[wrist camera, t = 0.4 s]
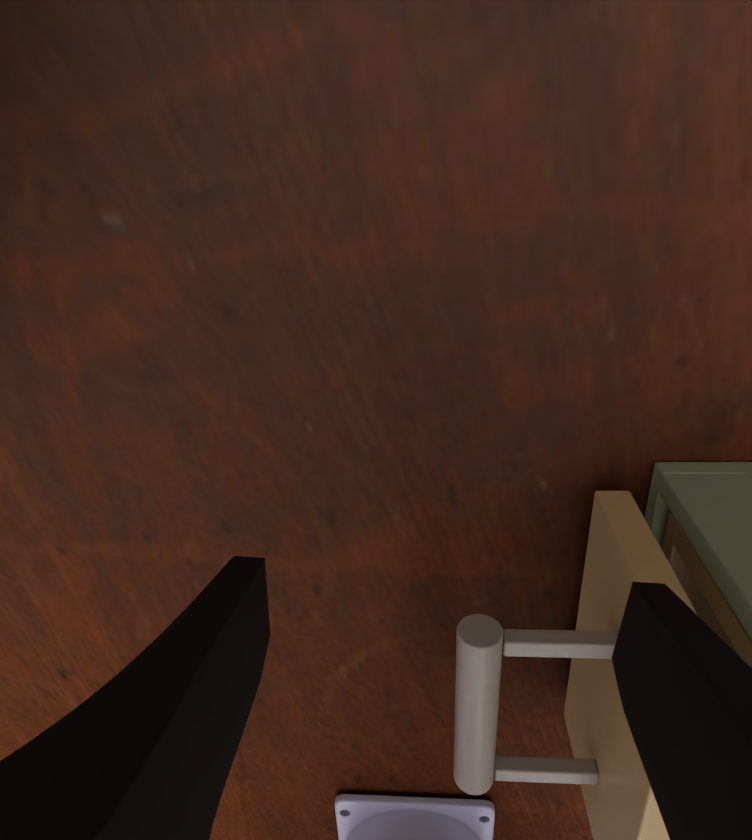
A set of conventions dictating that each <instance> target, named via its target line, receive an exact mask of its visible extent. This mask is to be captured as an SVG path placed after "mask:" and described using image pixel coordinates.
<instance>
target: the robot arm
mask: <svg viewBox="0 0 752 840" xmlns="http://www.w3.org/2000/svg"><path fill="white" fill-rule="evenodd" d="M269 637H270V624H269V611H268V597H267V583H266V570H265V558H256V557H240V556H234V557H233V558H232V559H231V560H229V562H228V563H227V564H226V565H225V566H224V567H223V568H222V569H221V571H220V572H219V573H218V574H217V575H216V576H215V577H214V578H213V580H212V581H211V582H210V583H209V584H208V585H207V586H206V587H205V589H204V590H203V591H202V592H201V593H200V594H199V595H198V596H197V597H196V598H195V599H194V600H193V602H192V603H191V604H190V605H189V606H188V607H187V608H186V609H185V610H184V611H183V612H182V613H181V614H180V615H179V616H178V617H177V618H176V619H175V620H174V621H173V622H172V623H171V624H170V625H169V626H168V627H167V628H166V629H165V630H164V631H163V632H162V633H161V634H160V635H159V636H158V637H157V638H156V639H155V640H154V641H153V642H152V643H151V644H150V645H149V646H148V647H147V648H145V649H144V650H143V651H142V652H141V653H140V654H139V655H138V656H137V657H136V658H135V659H134V660H133V661H132V662H130V663H129V664H128V665H127V666H126V667H125V668H124V669H123V670H122V671H120V672H119V673H118V674H117V675H116V676H115V677H113V678H112V679H111V680H110V681H109V682H108V683H106V684H105V685H104V686H103V687H102V688H100V689H99V690H98V691H97V692H95V693H94V694H93V695H92V696H90V697H89V698H88V699H87V700H85V701H84V702H83V703H82V704H80V705H79V706H78V707H77V708H75V709H74V710H73V711H71V712H70V713H69V714H67V715H66V716H64V717H63V718H62V719H60V720H59V721H58V722H56V723H55V724H54V725H52V726H51V727H49V728H48V729H47V730H45V731H44V732H42V733H41V734H40V735H38V736H37V737H35V738H34V739H33V740H31V741H30V742H28V743H27V744H25V745H24V746H23V747H21V748H20V749H18V750H17V751H15V752H14V753H12V754H11V755H9V756H7V757H6V758H4V759H3V760H1V761H0V840H209V838H210V833H211V829H212V825H213V821H214V818H215V815H216V812H217V808H218V805H219V802H220V798H221V795H222V792H223V789H224V786H225V783H226V780H227V777H228V775H229V772H230V769H231V766H232V763H233V760H234V757H235V754H236V751H237V748H238V745H239V742H240V740H241V737H242V734H243V731H244V728H245V725H246V722H247V719H248V716H249V713H250V710H251V707H252V704H253V701H254V698H255V695H256V692H257V689H258V686H259V683H260V679H261V674H262V670H263V666H264V661H265V656H266V652H267V647H268V642H269ZM612 662H613V667H614V672H615V676H616V681H617V686H618V690H619V694H620V698H621V702H622V707H623V711H624V713H625V716H626V719H627V722H628V725H629V728H630V731H631V733H632V736H633V739H634V742H635V745H636V747H637V750H638V753H639V756H640V759H641V761H642V764H643V767H644V770H645V772H646V775H647V778H648V780H649V783H650V786H651V789H652V791H653V794H654V797H655V800H656V802H657V805H658V808H659V811H660V813H661V816H662V819H663V822H664V824H665V827H666V830H667V833H668V836H669V839H670V840H752V668H751V667H750V666H749V665H748V664H747V663H746V662H745V661H744V660H743V659H742V658H741V657H740V656H739V655H738V654H737V653H735V652H734V651H733V650H732V649H731V648H730V647H729V646H728V645H727V644H726V643H725V642H724V641H723V640H722V639H721V638H720V637H719V636H718V635H717V634H716V633H715V632H714V631H713V630H712V629H711V628H710V627H709V626H708V625H707V624H706V623H705V622H704V621H703V620H702V619H701V618H700V617H699V616H698V615H697V614H696V613H695V612H694V611H693V610H692V609H691V608H690V607H689V606H688V605H687V604H686V603H685V602H684V601H682V600H681V599H680V598H679V597H678V596H677V595H676V594H675V593H674V592H673V591H672V590H671V589H670V588H669V587H668V586H667V585H666V584H662V583H647V582H632V586H631V589H630V593H629V596H628V600H627V604H626V607H625V611H624V615H623V618H622V622H621V626H620V629H619V633H618V636H617V640H616V644H615V647H614V651H613V655H612ZM335 813H336V822H337V830H338V839H339V840H493V832H494V819H495V808H494V804H493V803H492V802H491V801H488V800H480V799H456V798H432V797H409V796H385V795H361V794H340V795H338V796H337V797H336V799H335Z"/></svg>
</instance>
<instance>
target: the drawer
mask: <svg viewBox="0 0 752 840" xmlns="http://www.w3.org/2000/svg"><path fill="white" fill-rule="evenodd" d="M632 582H647V583H662V584H666V585H667V586H668V587H669V588H670V589H671V590H672V591H673V592H674V593H675V594H676V595H677V596H678V597H679V598H680V599H681V600H682V601H684V602H685V603H686V604H687V605H688V606H689V607H690V608H691V609H692V610H693V611H694V612H695V613H696V614H697V615H698V616H699V617H700V618H701V619H702V620H703V621H704V622H705V623H706V624H707V625H708V626H709V627H710V628H711V629H712V630H713V631H714V632H715V633H716V634H717V635H718V636H719V637H720V638H721V639H722V640H723V641H724V642H725V643H726V644H727V645H728V646H729V647H730V648H731V649H732V650H733V651H734V652H735V653H737V654H738V655H739V656H740V657H741V658H742V659H743V660H744V661H745V662H746V663H747V664H748V665H749V666H750V667H751V668H752V640H751V639H750V637H749V635H748V634H747V632H746V631H745V629H744V627H743V626H742V624H741V623H740V621H739V619H738V618H737V616H736V615H735V613H734V611H733V610H732V608H731V607H730V605H729V603H728V602H727V600H726V599H725V597H724V595H723V594H722V592H721V591H720V589H719V587H718V586H717V584H716V583H715V581H714V579H713V578H712V576H711V575H710V573H709V572H708V570H707V568H706V567H705V565H704V564H703V562H702V560H701V559H700V557H699V556H698V554H697V552H696V551H695V549H694V548H693V546H692V544H691V543H690V541H689V540H688V538H687V536H686V535H685V533H684V532H683V530H682V528H681V527H680V525H679V524H678V522H677V520H676V519H675V517H674V516H673V514H672V512H671V513H669V517H668V522H667V527H666V532H665V536H664V541H663V546H662V549H661V547H660V545H659V544H658V542H657V540H656V538H655V536H654V535H653V533H652V531H651V529H650V527H649V525H648V524H647V522H646V520H645V518H644V516H643V515H642V513H641V511H640V509H639V507H638V505H637V504H636V502H635V500H634V498H633V496H632V495H631V493H630V491H595V495H594V502H593V509H592V516H591V523H590V530H589V537H588V544H587V552H586V559H585V566H584V573H583V580H582V587H581V594H580V601H579V608H578V616H577V623H576V630H529V629H502V627H501V625H500V624H499V622H498V621H497V620H495V619H494V618H492V617H490V616H488V615H484V614H472V615H468V616H466V617H464V618H463V619H462V620H461V621H460V622H459V624H458V626H457V641H456V684H455V728H454V772H453V775H454V780H455V782H456V784H457V786H458V787H459V788H460V789H461V790H462V791H464V792H465V793H467V794H470V795H481V794H484V793H485V792H487V791H488V790H489V789H490V788H491V786H492V784H493V778H494V779H495V780H496V781H512V782H537V783H563V784H580V785H581V790H582V794H583V798H584V802H585V807H586V811H587V815H588V819H589V823H590V828H591V832H592V836H593V840H670V839H669V836H668V833H667V830H666V827H665V824H664V822H663V819H662V816H661V813H660V811H659V808H658V805H657V802H656V800H655V797H654V794H653V791H652V789H651V786H650V783H649V780H648V778H647V775H646V772H645V770H644V767H643V764H642V761H641V759H640V756H639V753H638V750H637V747H636V745H635V742H634V739H633V736H632V733H631V731H630V728H629V725H628V722H627V719H626V716H625V713H624V711H623V707H622V702H621V698H620V694H619V690H618V686H617V681H616V676H615V672H614V667H613V662H612V655H613V651H614V647H615V644H616V640H617V636H618V633H619V629H620V626H621V622H622V618H623V615H624V611H625V607H626V604H627V600H628V596H629V593H630V589H631V586H632ZM502 650H503V654H504V656H509V657H552V658H571V665H570V672H569V680H568V687H567V694H566V701H565V708H564V718H565V722H566V726H567V730H568V734H569V739H570V743H571V747H572V751H573V756H574V758H553V757H525V756H497V755H495V750H496V735H497V721H498V706H499V692H500V678H501V663H502Z"/></svg>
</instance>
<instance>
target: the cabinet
mask: <svg viewBox="0 0 752 840" xmlns="http://www.w3.org/2000/svg"><path fill="white" fill-rule="evenodd" d="M671 512H672V514H673V516H674V517H675V519H676V520H677V522H678V524H679V525H680V527H681V528H682V530H683V532H684V533H685V535H686V536H687V538H688V540H689V541H690V543H691V544H692V546H693V548H694V549H695V551H696V552H697V554H698V556H699V557H700V559H701V560H702V562H703V564H704V565H705V567H706V568H707V570H708V572H709V573H710V575H711V576H712V578H713V579H714V581H715V583H716V584H717V586H718V587H719V589H720V591H721V592H722V594H723V595H724V597H725V599H726V600H727V602H728V603H729V605H730V607H731V608H732V610H733V611H734V613H735V615H736V616H737V618H738V619H739V621H740V623H741V624H742V626H743V627H744V629H745V631H746V632H747V634H748V635H749V637H750V639H751V640H752V462H656V463H655V464H654V470H653V475H652V480H651V486H650V491H649V496H648V502H647V507H646V512H645V520H646V522H647V524H648V525H649V527H650V529H651V531H652V533H653V535H654V536H655V538H656V540H657V542H658V544H659V545H660V547H661V549H662V546H663V541H664V536H665V532H666V527H667V522H668V517H669V513H671Z"/></svg>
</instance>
